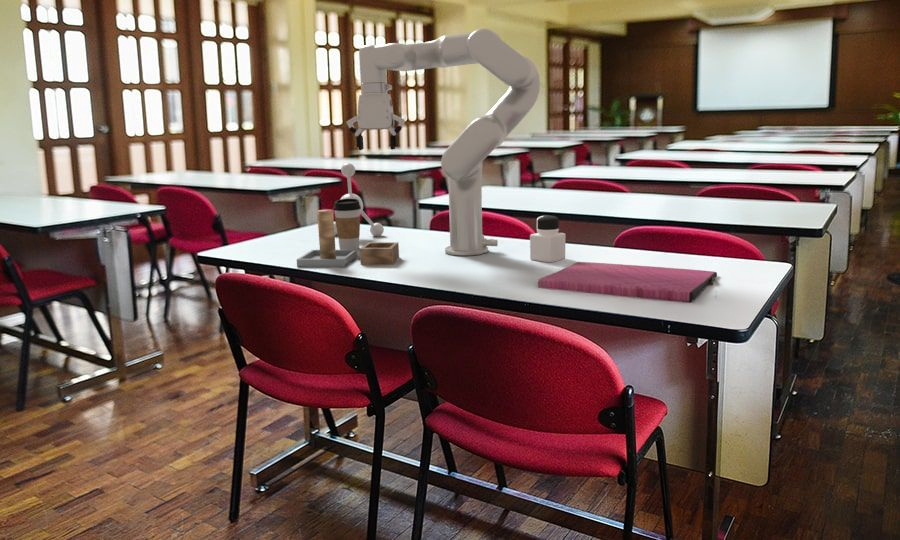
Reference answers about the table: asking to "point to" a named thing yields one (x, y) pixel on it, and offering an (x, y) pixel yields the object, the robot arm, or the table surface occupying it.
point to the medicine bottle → (547, 240)
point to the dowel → (326, 234)
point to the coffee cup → (348, 223)
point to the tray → (314, 259)
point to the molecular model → (375, 228)
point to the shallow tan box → (379, 253)
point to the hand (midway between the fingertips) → (377, 149)
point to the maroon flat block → (630, 281)
